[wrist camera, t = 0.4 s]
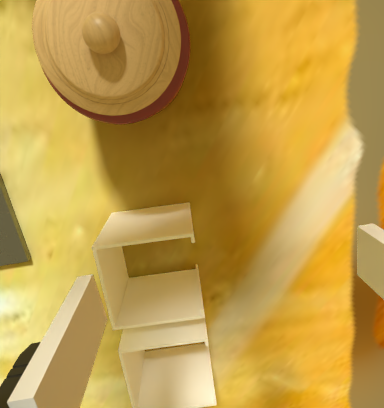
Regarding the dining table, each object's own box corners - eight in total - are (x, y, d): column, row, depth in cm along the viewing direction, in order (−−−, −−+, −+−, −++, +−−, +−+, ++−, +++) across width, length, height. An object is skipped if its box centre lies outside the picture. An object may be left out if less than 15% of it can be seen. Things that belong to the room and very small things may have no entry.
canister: (150, 138, 40) (131, 163, 23) (58, 78, 37) (-38, 58, 20) (206, 46, 37) (232, 0, 20) (111, -26, 34) (50, -150, 17)
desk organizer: (112, 212, 43) (91, 246, 33) (189, 201, 43) (193, 233, 33) (142, 352, 51) (134, 416, 41) (208, 343, 51) (216, 405, 41)
